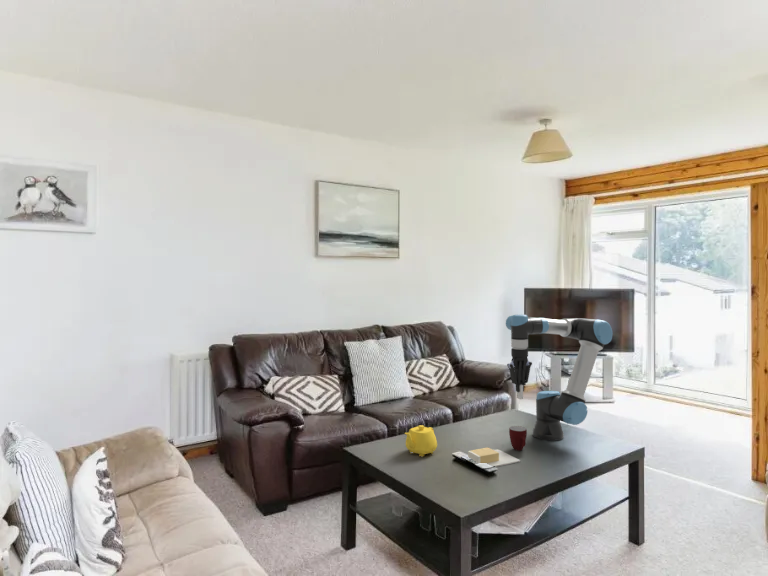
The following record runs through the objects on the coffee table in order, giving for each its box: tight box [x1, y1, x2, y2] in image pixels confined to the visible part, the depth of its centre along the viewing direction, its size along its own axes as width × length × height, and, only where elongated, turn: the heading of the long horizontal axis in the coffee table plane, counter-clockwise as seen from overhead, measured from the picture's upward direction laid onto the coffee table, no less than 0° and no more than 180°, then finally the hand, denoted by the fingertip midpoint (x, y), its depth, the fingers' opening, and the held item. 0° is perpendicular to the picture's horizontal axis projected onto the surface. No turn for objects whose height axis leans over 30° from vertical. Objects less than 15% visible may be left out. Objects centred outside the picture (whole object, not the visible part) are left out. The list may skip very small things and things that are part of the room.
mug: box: [508, 425, 528, 452], centre depth 238 cm, size 10×8×10 cm
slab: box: [467, 447, 499, 463], centre depth 224 cm, size 4×8×11 cm
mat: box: [487, 449, 521, 468], centre depth 226 cm, size 21×16×1 cm
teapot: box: [404, 424, 438, 458], centre depth 234 cm, size 14×20×13 cm
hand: (519, 398), depth 232 cm, fingers closed
